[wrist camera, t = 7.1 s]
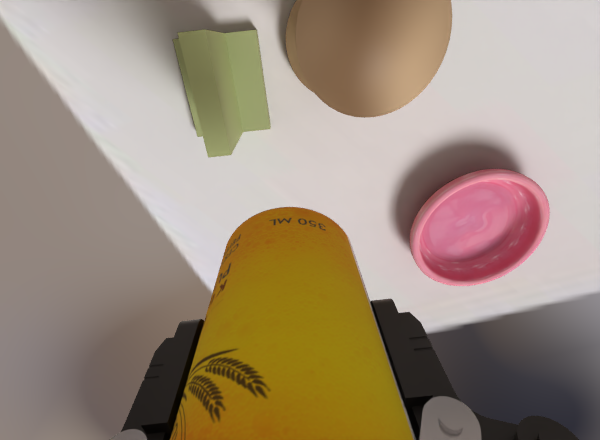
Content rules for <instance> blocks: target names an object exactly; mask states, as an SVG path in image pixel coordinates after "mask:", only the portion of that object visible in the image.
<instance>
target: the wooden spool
mask: <svg viewBox="0 0 600 440" xmlns="http://www.w3.org/2000/svg"><path fill="white" fill-rule="evenodd" d="M451 26H452V7H451V0H296V2H295V3H294V5H293V8H292V10H291V12H290V15H289V19H288V23H287V28H286V49H287V55H288V58H289V62H290V64H291V67H292V69H293V71H294V73H295V74H296V76H297V77H298V79H299V80H300V81H301V82H302V83H303V84H304V85H305V86H306V87H307V88H308V89H310V90H311V91H312V92H314V93H315V94H316V95H317V96H318V97H319V98H320V99H321V100H322V101H323V102H324V103H326V104H327V105H328V106H329V107H331V108H333V109H335V110H336V111H338V112H341V113H343V114H346V115H350V116H354V117H376V116H381V115H385V114H388V113H391V112H393V111H395V110H398V109H400V108H401V107H403V106H405V105H406V104H408V103H409V102H410V101H412V100H413V99H414V98H416V97H417V96H418V95H419V94H420V93H421V92H422V91H423V90H424V89H425V88H426V86H427V85H428V84H429V83H430V82H431V80H432V79H433V77H434V76H435V74H436V73H437V71H438V69H439V67H440V65H441V63H442V61H443V58H444V56H445V53H446V50H447V47H448V43H449V40H450V34H451Z"/></svg>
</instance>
